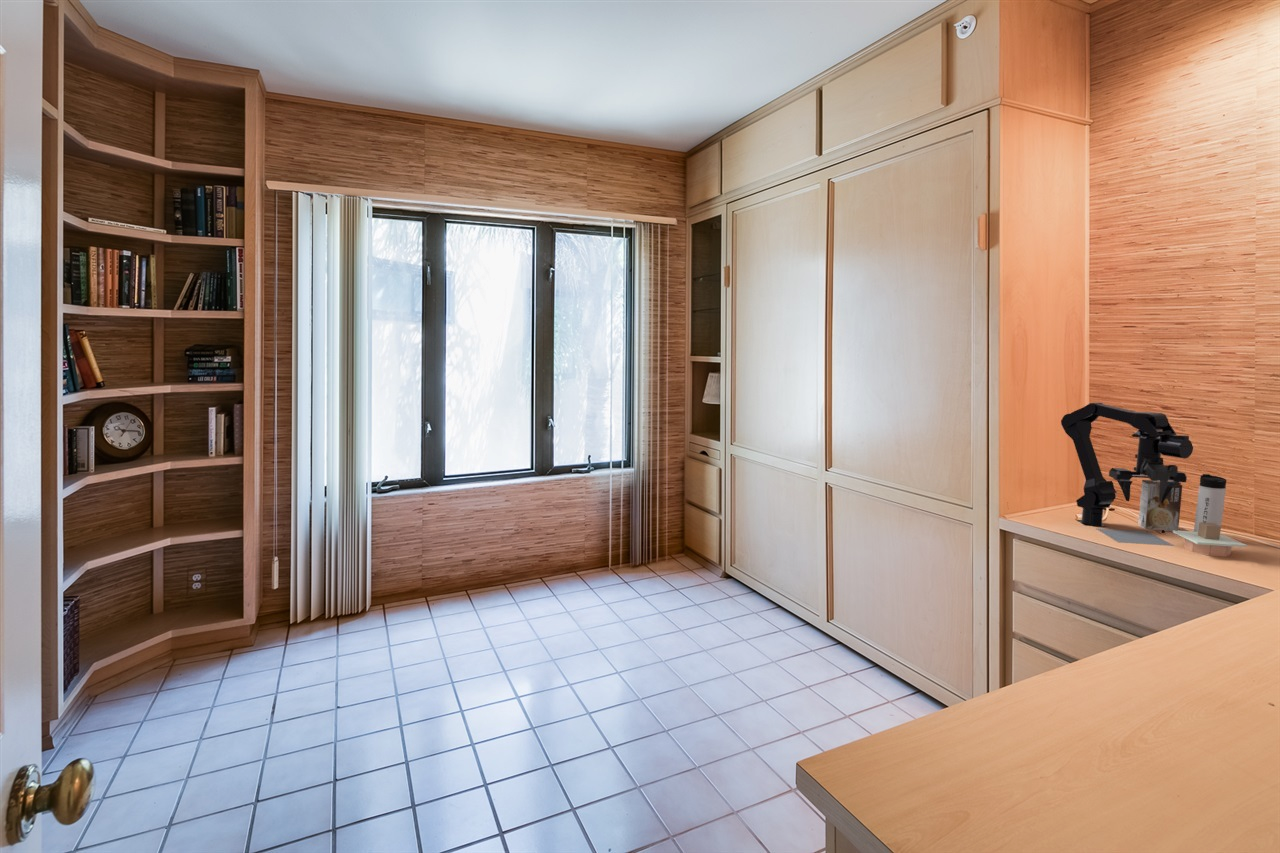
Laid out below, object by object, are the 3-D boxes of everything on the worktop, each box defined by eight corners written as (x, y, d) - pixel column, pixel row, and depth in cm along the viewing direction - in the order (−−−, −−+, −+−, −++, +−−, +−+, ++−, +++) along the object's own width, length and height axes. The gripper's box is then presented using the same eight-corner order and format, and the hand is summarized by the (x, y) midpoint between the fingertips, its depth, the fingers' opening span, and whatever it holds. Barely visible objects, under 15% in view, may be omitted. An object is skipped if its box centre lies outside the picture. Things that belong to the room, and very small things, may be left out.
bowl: (1178, 546, 193) (1180, 533, 193) (1215, 548, 191) (1216, 535, 191) (1198, 556, 184) (1199, 543, 184) (1236, 558, 182) (1238, 545, 182)
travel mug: (1208, 534, 205) (1215, 474, 203) (1224, 540, 199) (1232, 478, 196) (1187, 534, 206) (1194, 473, 203) (1203, 540, 199) (1210, 478, 197)
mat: (1095, 529, 211) (1095, 528, 210) (1147, 532, 207) (1147, 531, 207) (1118, 543, 196) (1118, 542, 196) (1174, 547, 193) (1174, 545, 193)
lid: (1172, 532, 194) (1174, 517, 194) (1218, 534, 192) (1220, 520, 191) (1197, 544, 183) (1198, 528, 182) (1246, 547, 180) (1248, 531, 180)
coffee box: (1170, 528, 213) (1175, 481, 210) (1178, 533, 207) (1183, 485, 205) (1137, 525, 216) (1141, 479, 214) (1144, 530, 210) (1149, 483, 208)
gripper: (1128, 456, 192) (1123, 506, 194) (1200, 458, 188) (1194, 510, 190) (1110, 450, 203) (1105, 497, 205) (1178, 452, 198) (1172, 501, 200)
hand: (1144, 501), depth 200 cm, fingers open, 9 cm apart
